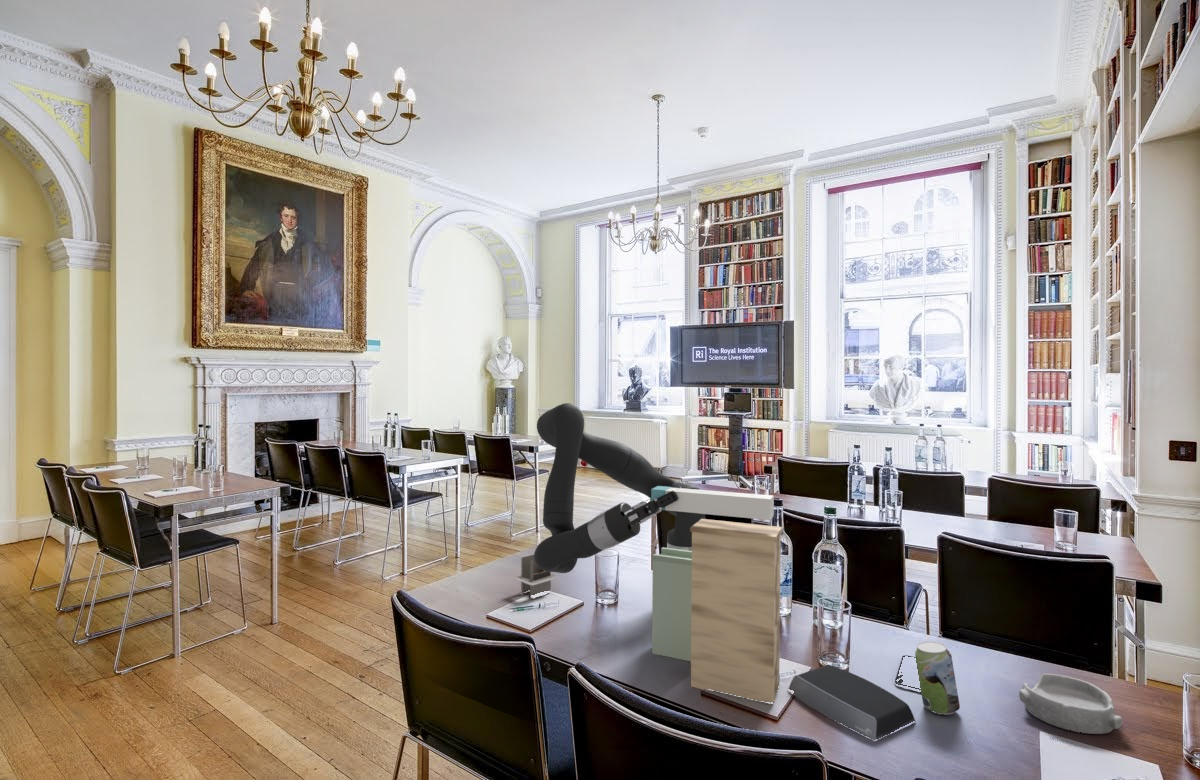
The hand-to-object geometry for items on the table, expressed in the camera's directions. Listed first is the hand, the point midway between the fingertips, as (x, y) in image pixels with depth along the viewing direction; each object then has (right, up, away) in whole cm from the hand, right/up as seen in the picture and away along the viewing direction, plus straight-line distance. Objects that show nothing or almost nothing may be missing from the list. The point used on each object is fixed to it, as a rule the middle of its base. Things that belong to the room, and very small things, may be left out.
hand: (679, 492), depth 123 cm
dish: (+70, -39, -14) cm, 81 cm away
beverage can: (+47, -39, -12) cm, 62 cm away
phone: (+50, -39, +1) cm, 64 cm away
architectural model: (-35, -38, +48) cm, 71 cm away
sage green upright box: (+2, -38, +12) cm, 40 cm away
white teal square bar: (+6, -3, -3) cm, 7 cm away
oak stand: (+11, -38, -3) cm, 40 cm away
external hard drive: (+31, -39, -10) cm, 51 cm away
